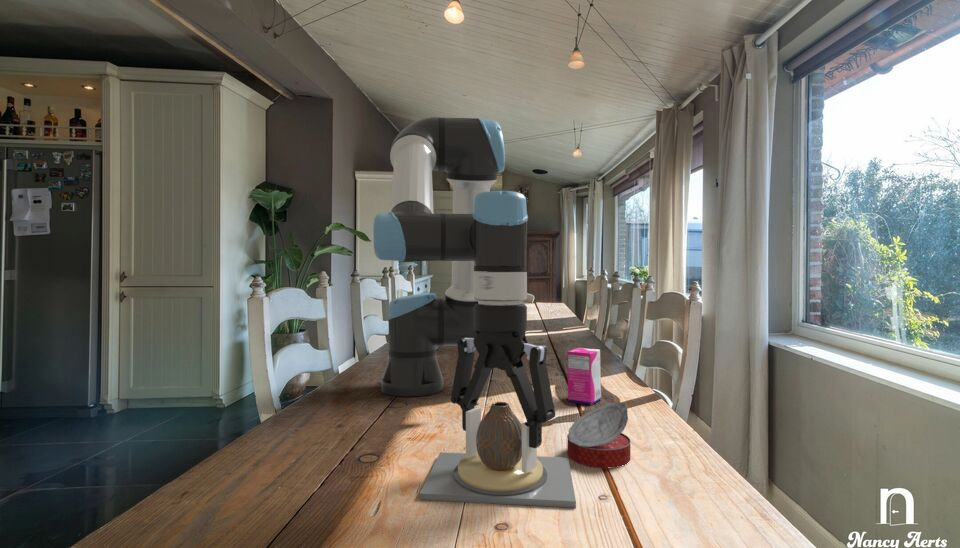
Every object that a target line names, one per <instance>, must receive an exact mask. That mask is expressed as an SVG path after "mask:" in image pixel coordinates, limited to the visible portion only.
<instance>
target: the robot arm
mask: <svg viewBox="0 0 960 548" xmlns="http://www.w3.org/2000/svg"><path fill="white" fill-rule="evenodd" d="M389 156H390V158H389V159H390V164H391V166H392V168H393V173H392V181H391V182H392V183H391V193H390V203H389V211H387V212H383V213H381V212H380V213H378V214H376V215H375V217H374V219H373V227H372V229H373V230H372V232H373V233H372V234H373V236H372V237H373V250H374V254H375V257H376V258H377V259H378V260H381V261H392V262H393V261H394V262H398V263H404V262H427V261H428V262H429V261H430V262H433V261H434V262H435V261H436V262H437V261H439V262H442V261H443V262H451V285H450V287H448V288H447V289H446V290H445V291H444V292H445V293H444V294H445V295H444V298H438V296H437V295H436V293H434V292H427V293H418V294H412V295H406V296H405V295H404V296H400V297H396V298H393V299H392V300H390V302H389V304H388V312H387V314H388V316H387V320H388V357H387V362H386V365H385V368H384V371H383V372H384V373H383V375H382V377H381V384H380V385H381V388H380V389H381V390H380V391H381V393H382V392H383V394H386V395H389V396H395V397H420V396H421V397H422V396H429V395H433V394H437V393H439V392H441V391H443V390H444V378H443V374H442V372H441V367H440V365H439V362H438V359H437V347H442V346H443V347H447V346H448V347H449V346H451V347H452V346H454V347H455V346H457V354H458V356H457V361H456V368H455V373H454V377H453V378H454V379H453V384H452V390H451V396H450V401H451V403H452V404H454V405H455V404H457V405H458V406H459V407H460V409H461V411H462V412H461V416H462V417H461V418H462V419H461V420H462V421H461V422H462V423H461V427H462V431H465V453H466V456H468V457H471V456H473V455H475V454H477V453H478V452H477V447H476V435H477V430H478V427H479V424H480V422H481V421H482V408H481V407H477V406H478V405H480V403H479V402H478V401H479V399H480V396H481V395H482V393H483V390H484V387H485V385H486V383H487V380H488V379H489V376H490V373H491V371H493V370H494V369H495V368H497V369H498V370H500V371H504V372H505V374H506V376H507V377H508V378H509V379H510V381H511V384H512V386H513V388H514V392H515V394H516V397H517V399H518V401H519V404H520V407H521V409H522V411H523V415H524V417H525V419H526V421H525V422H523V423H521V425H522V472H523V473H526V474H527V473H528V472H530V471H531V470H533V469H534V468H536V467H537V455H538V454H537V453H538V452H537V451H538V450H537V448H539V447H540V446H541V445H542V441H543V438H542V437H543V435H542V434H543V429H542V428H543V424H544V423H547V422H548V421H550V420H553V419H554V418H555V417H556V409H555V404H554V399H553V395H552V394H553V393H552V388H551V383H550V378H549V373H548V368H547V363H546V362H547V353H548V348H547V346H546V345H545V344H541V345H536V344H533V343H532V344H531V343H529V341H528V340H527V336H526V332H527V328H528V319H527V317H528V307H527V306H526V304H525V303H524V302H523V301H526V300H527V298H528V271H527V269H528V268H527V265H528V264H527V263H528V261H527V259H528V258H527V257H528V256H527V253H528V249H527V248H528V245H527V244H528V243H527V242H528V221H529V214H528V209H527V197H526V196H525V195H524V194H523V193H521V192H518V191H511V190H491V187H492V186H493V185H494V184H495V183H496V182H498V174H501V173H503V172H504V171H505V168H506V167H505V166H506V165H505V163H506V150H505V143H504V135H503V132H502V128H501V126H500V124H499V122H497V120H494V119H488V118H480V117H477V118H473V117H472V118H471V117H438V116H433V117H431V116H430V117H424V118H422V119H418V120H416V121H413V122H412V123H410V124H408V125H407V126H406V127H404V128H403V129H402V130H401V131H400V132H399V133H398V134H397V135H396V137H395V139H394V140H393V142H392V144H391V147H390V154H389ZM433 171H436V172H437V171H438V172H446V178H445V179H446V181H447V182H448V183H449V184H450V185H451V186H452V213H434V194H433V193H434V192H433V188H434V187H433ZM476 351H477V353H478V357H477V359H476V362H475V364H474V361H475V360H474V359H475V352H476ZM525 354H526V359H527V360H528V361H529V362H528V365H529V367H528V368H529V373H530V378H529V376H528V374H527V373H528V372H527V370H528V369H527V366H526V363H525V361H524V359H523V357H524V356H525ZM473 366H474V367H473ZM473 368H474V370H473ZM472 371H473V372H472ZM530 379H531V381H530Z"/></svg>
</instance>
